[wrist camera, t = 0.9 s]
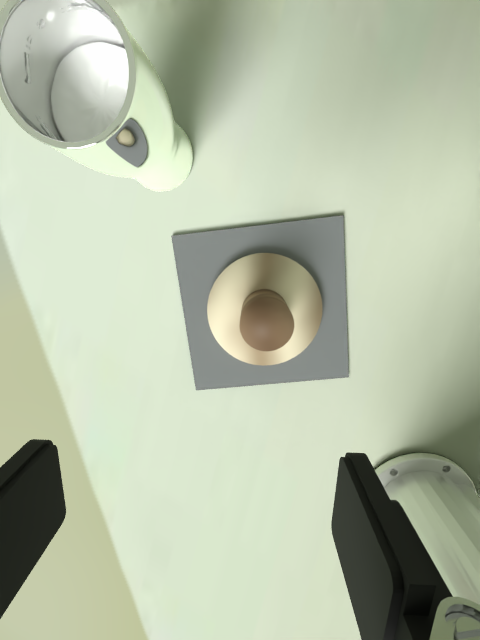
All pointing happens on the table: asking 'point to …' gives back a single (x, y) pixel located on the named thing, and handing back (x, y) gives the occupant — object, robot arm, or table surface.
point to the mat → (279, 238)
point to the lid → (264, 309)
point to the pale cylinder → (90, 91)
